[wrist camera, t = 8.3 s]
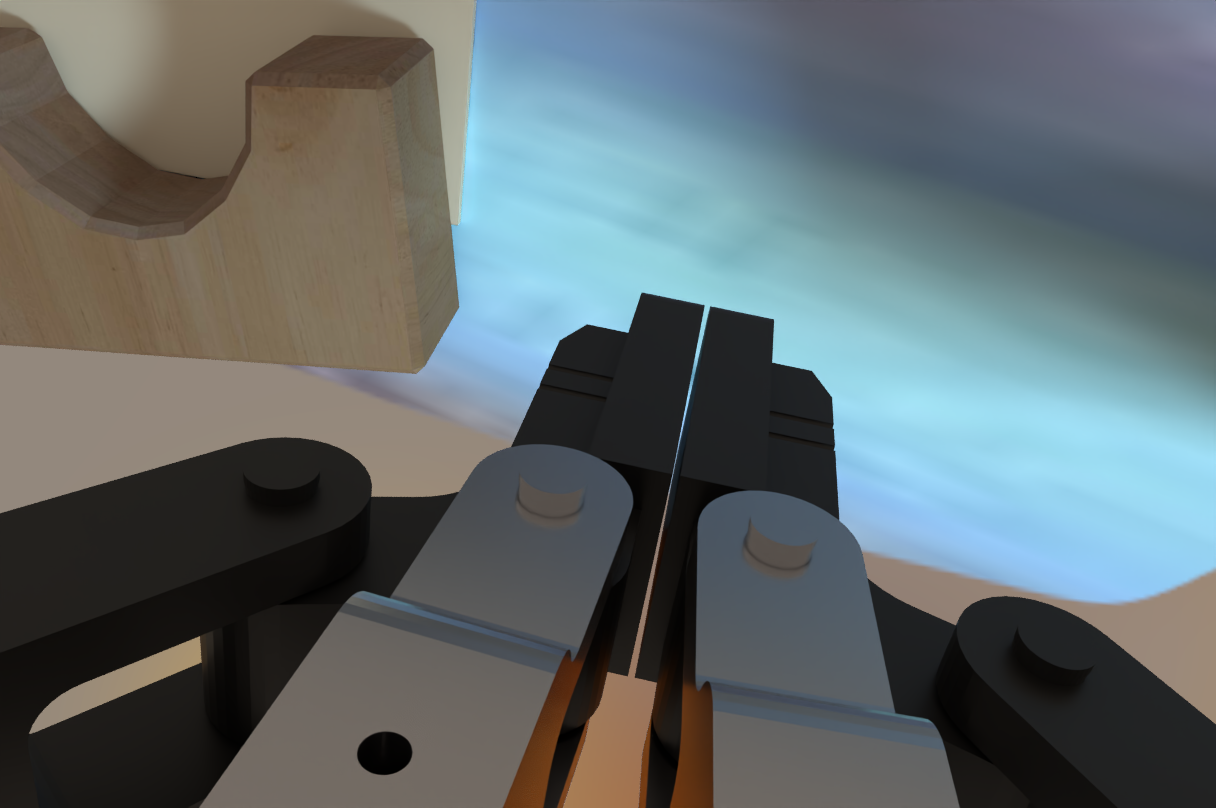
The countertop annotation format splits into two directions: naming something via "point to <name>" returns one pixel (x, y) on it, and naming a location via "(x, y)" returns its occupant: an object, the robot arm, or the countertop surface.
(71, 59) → the sand mat
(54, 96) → the decorative block
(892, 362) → the countertop surface
